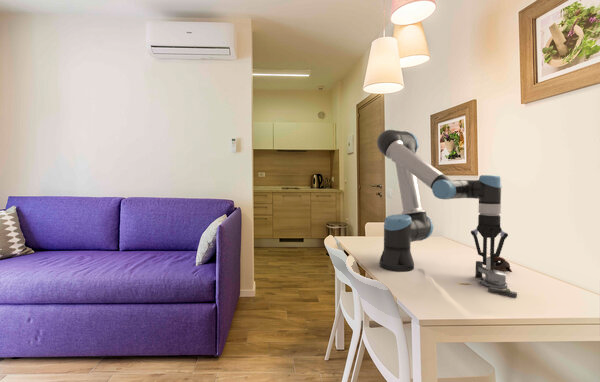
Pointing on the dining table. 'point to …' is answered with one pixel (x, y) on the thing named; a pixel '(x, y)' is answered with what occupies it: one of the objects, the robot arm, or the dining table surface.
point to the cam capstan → (490, 277)
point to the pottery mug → (500, 264)
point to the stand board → (498, 291)
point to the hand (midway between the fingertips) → (487, 273)
